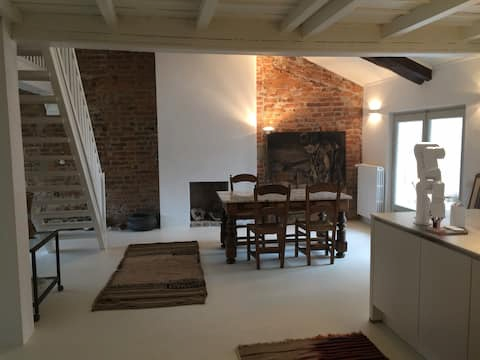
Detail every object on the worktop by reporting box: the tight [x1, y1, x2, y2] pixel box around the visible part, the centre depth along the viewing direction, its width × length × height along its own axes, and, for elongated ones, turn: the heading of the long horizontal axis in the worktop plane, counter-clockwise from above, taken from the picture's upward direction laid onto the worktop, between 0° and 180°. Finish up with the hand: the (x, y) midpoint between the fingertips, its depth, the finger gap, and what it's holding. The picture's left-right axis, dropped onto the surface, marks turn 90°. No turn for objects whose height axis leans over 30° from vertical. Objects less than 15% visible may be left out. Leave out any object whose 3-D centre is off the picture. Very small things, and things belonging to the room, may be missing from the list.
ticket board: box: [425, 225, 469, 236], centre depth 275 cm, size 16×20×3 cm
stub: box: [426, 218, 446, 232], centre depth 273 cm, size 12×6×7 cm, turn 10°
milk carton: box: [449, 199, 467, 228], centre depth 291 cm, size 7×7×19 cm
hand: (436, 227), depth 273 cm, fingers closed on stub, 2 cm apart
